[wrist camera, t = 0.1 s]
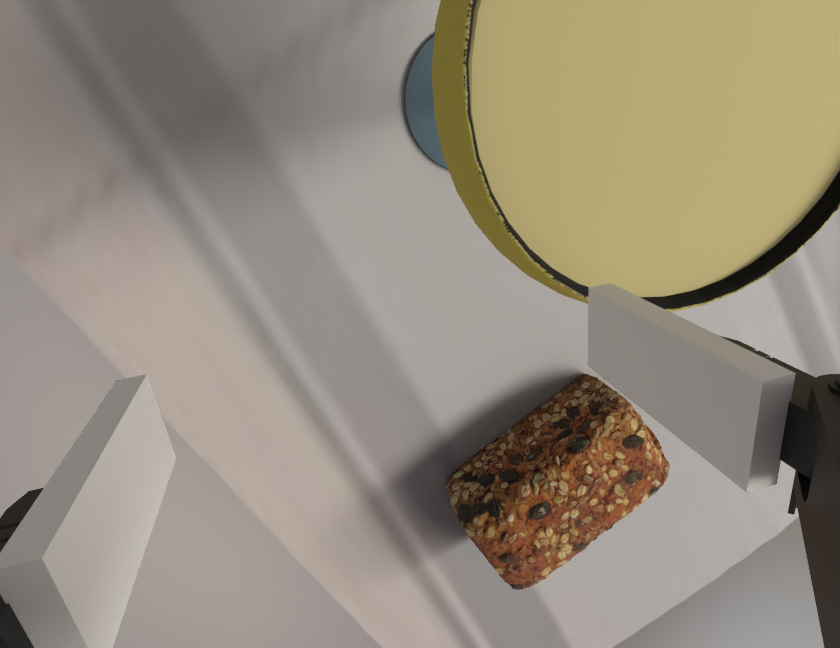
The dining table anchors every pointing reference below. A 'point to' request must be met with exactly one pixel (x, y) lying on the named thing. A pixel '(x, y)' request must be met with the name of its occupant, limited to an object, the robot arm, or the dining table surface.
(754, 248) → the cocktail glass
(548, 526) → the bread
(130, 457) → the robot arm
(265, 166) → the dining table surface
